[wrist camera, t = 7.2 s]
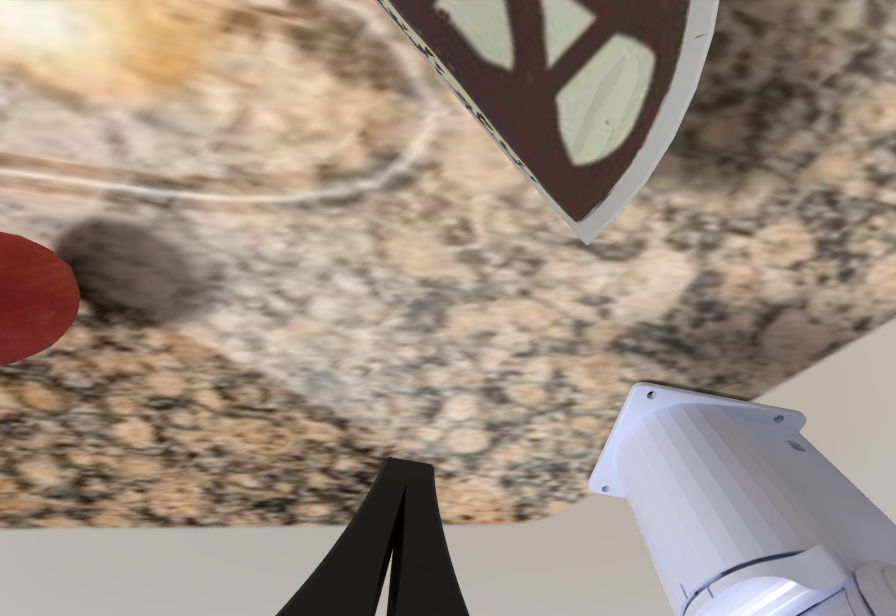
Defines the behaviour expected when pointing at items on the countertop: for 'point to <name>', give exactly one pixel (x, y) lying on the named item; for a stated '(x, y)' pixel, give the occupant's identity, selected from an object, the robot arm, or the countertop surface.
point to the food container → (569, 86)
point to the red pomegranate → (33, 298)
